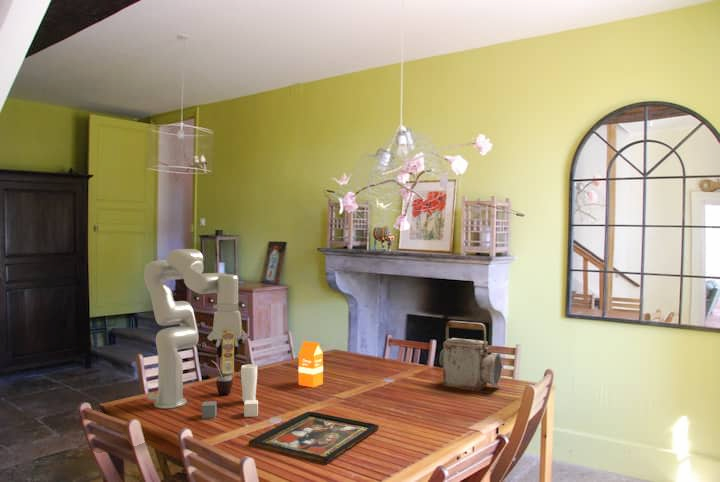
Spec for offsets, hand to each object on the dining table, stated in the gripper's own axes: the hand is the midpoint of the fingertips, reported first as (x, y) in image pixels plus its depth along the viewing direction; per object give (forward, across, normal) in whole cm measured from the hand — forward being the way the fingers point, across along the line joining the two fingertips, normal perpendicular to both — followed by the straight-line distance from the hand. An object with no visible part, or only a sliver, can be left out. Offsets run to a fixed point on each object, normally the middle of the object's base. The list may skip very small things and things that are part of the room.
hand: (227, 356), depth 201 cm
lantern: (+25, +107, +39) cm, 117 cm away
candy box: (+6, 0, 0) cm, 6 cm away
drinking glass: (+25, +6, +27) cm, 38 cm away
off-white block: (+25, +8, +10) cm, 28 cm away
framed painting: (+26, +32, -17) cm, 45 cm away
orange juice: (+25, +33, +51) cm, 66 cm away
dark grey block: (+25, -8, +10) cm, 28 cm away
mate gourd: (+26, -6, +39) cm, 47 cm away
